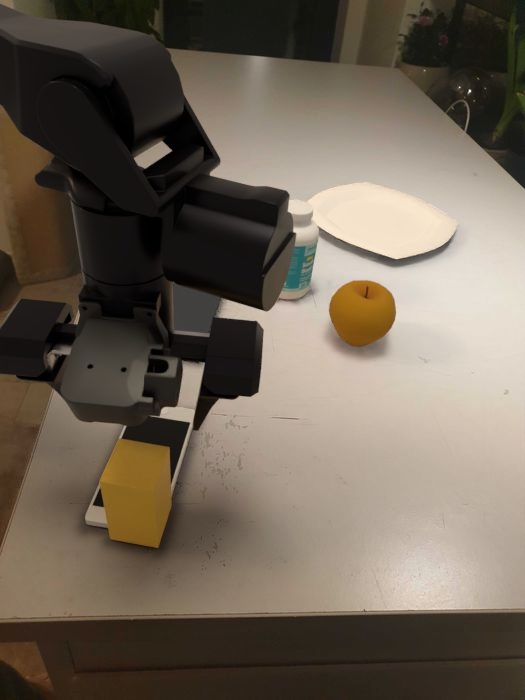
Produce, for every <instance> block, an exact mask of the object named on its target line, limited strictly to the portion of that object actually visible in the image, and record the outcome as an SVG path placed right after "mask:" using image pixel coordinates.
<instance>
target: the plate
mask: <svg viewBox="0 0 525 700" xmlns="http://www.w3.org/2000/svg"><path fill="white" fill-rule="evenodd" d="M306 202H307V203H309V204H310V205H312V207H313V217H312V220H314V221H315V222H316V224H317V225H318V228H319V229H321V230H322V231H323V232H325V233H327V234H328V235H330V236H332V237H333V238H335V239H337V240H339V241H341V242H344V243H346V244H348V245H350V246H353V247H356V248H359V249H361V250H364V251H366V252H369V253H372V254H376V255H378V256H382V257H385V258H388V259H391V260H394V261H399V260H403V259H407V258H412V257H415V256H420V255H424V254H427V253H429V252H433V251H435V250H437V249H438V248H441V247H442V246H444V245H445V244H446V243H448V242H449V241H450V240H451V238H452V237H453V236H454V233H455V232H456V230H457V228H458V225H459V221H458V220H456V219H455V218H454V217H452V216H450V215H449V214H447V213H445V212H444V211H442V210H441V209H439V208H437V207H435V206H434V205H432V204H430V203H429V202H427V201H425V200H422V199H420V198H418V197H417V196H414V195H411V194H408V193H405V192H403V191H399V190H397V189H393V188H390V187H387V186H383V185H380V184H376V183H372V182H369V181H361V182H354V183H348V184H343V185H338V186H333V187H331V188H327V189H324V190H322V191H320V192H318V193H316V194H315V195H313V196H312V197H310V198H309V199H308V200H307V201H306Z"/></svg>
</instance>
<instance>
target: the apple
mask: <svg viewBox="0 0 525 700" xmlns="http://www.w3.org/2000/svg"><path fill="white" fill-rule="evenodd" d="M396 308H397V307H396V300H395V298H394V295H393V293H392V292H391V291H390V290H389V289H388V288H387V287H385V286H384V285H382V284H381V283H379V282H375V281H372V280H368V279H367V280H364V279H361V280H351V281H349V282H347V283H344V284H343V285H341V286H340V287H339V288H338V289H337V290H336V291H335V292H334V293H333V295H332V296H331V298H330V302H329V306H328V314H329V319H330V321H331V324H332V327H333V328H334V330H335V332H336V333H337V335H338V336H339V337H340V339H342V340H343V342H344V343H346V344H347V345H349V346H351V347H355V348H362V347H366V346H368V345H371V344H373V343H375V342H377V341H379V340H381V339H383V338H384V337H385V336H386V335H387V334H388V333H389V331H391V329H392V328H393V325H394V324H395V321H396V317H397V309H396Z"/></svg>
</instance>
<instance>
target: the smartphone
mask: <svg viewBox="0 0 525 700" xmlns="http://www.w3.org/2000/svg"><path fill="white" fill-rule="evenodd" d="M194 413H195V409H194V408H188V407H181V406H176V407H175V408H174V407H164V408H163V409H162V410H161V414H160V416H148V417H147V419H146V420H145V421H144V422H143V423H141V424H139V425H137V426H124V425H123V427H122V430H121V432H120V434H119V437H118V439H119V438H120V439H126V440H131V441H137V442H143V443H149V444H154V445H160V446H166V447H169V448H170V475H171V499H172V497H173V494H174V491H175V487H176V485H177V481H178V478H179V475H180V471H181V468H182V465H183V462H184V458H185V455H186V451H187V448H188V444H189V442H190V438H191V435H192V431H193V419H194ZM84 519H85V523H86V525H88V526H93V527H99V528H105V529H108V524H107V519H106V514H105V509H104V503H103V498H102V493H101V487H100V482H98V485H97V487H96V490H95V492H94V494H93V497H92V499H91V501H90V503H89V505H88V508H87V510H86V513H85V516H84Z"/></svg>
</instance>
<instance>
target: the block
mask: <svg viewBox="0 0 525 700" xmlns="http://www.w3.org/2000/svg"><path fill="white" fill-rule="evenodd" d="M98 483H100V487H101V493H102V498H103V503H104V509H105V514H106V519H107V524H108V528H107V529H108V535H109V539H110V540H113V541H117V542H124V543H128V544H134V545H141V546H145V547H151V548H156V549H158V548H159V547H160V543H161V539H162V537H163V534H164V531H165V528H166V526H167V522H168V519H169V516H170V512H171V509H172V505H173V503H172V501H173V500H172V498H171V475H170V448H169V447H166V446H160V445H154V444H149V443H143V442H137V441H131V440H126V439H120V438H119V437H118V439H117V441H116V444H115V446H114V448H113V450H112V452H111V455H110V457H109V459H108V461H107V463H106V465H105V468H104V470H103V472H102V474H101V476H100V478H99V481H98Z"/></svg>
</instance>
